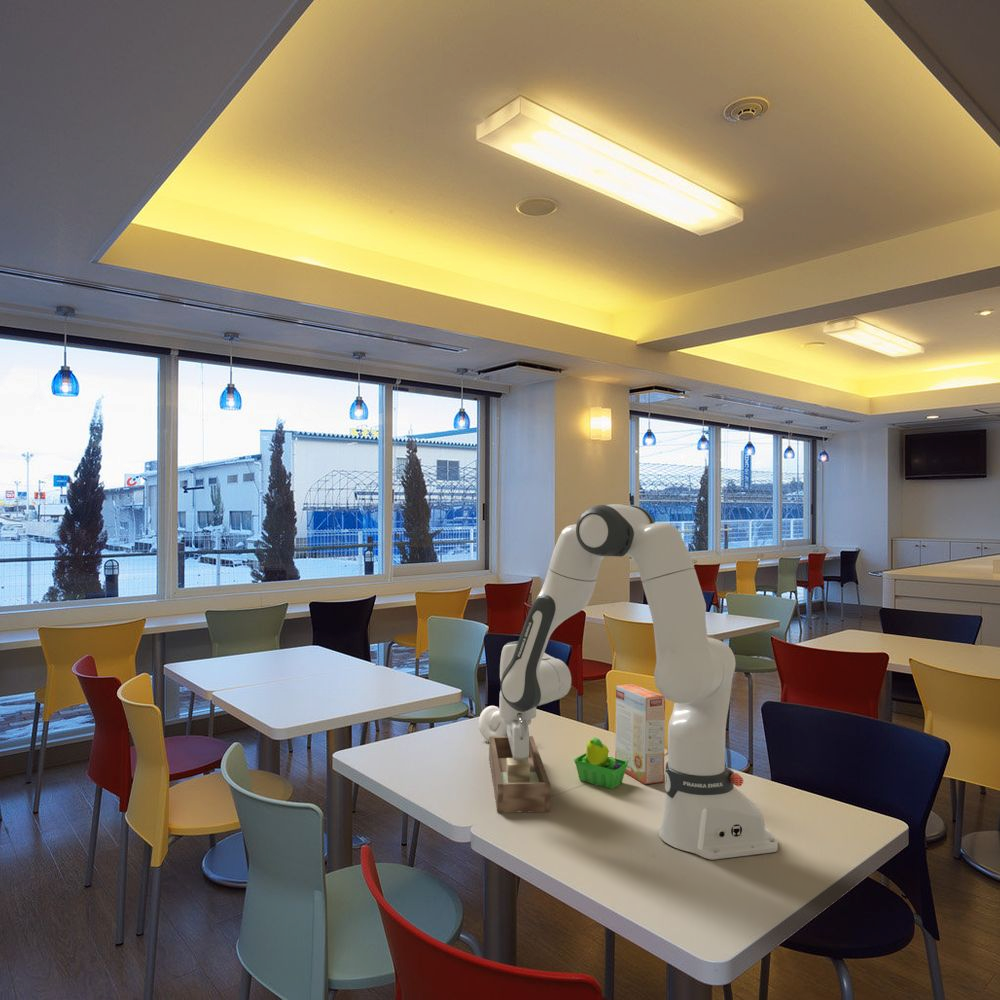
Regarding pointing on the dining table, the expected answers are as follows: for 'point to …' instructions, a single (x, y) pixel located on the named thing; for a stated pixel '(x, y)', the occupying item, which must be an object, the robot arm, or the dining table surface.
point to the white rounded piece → (492, 723)
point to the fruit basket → (600, 765)
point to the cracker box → (640, 732)
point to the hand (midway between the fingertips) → (517, 766)
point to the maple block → (517, 770)
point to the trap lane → (518, 793)
